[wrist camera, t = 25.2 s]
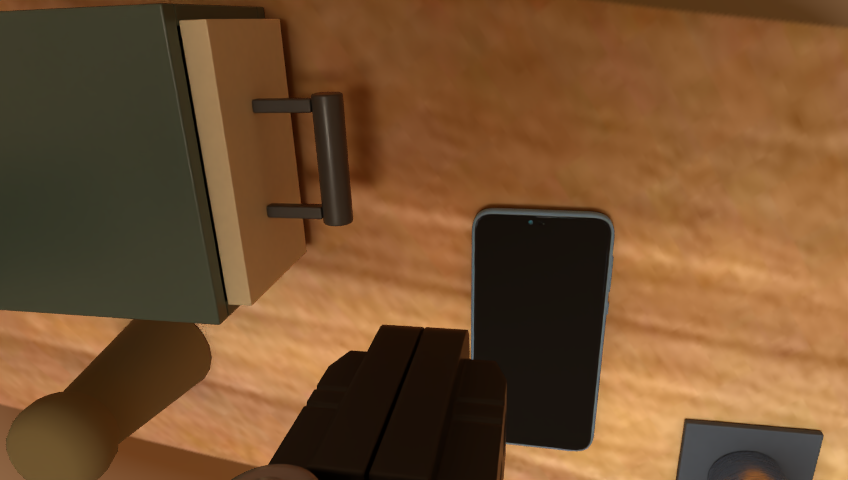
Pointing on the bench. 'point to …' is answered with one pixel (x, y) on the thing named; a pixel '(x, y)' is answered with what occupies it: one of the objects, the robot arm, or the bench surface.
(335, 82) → the bench surface
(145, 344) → the pepper shaker
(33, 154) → the cabinet
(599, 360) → the smartphone
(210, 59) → the drawer
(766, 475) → the spice tin
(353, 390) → the robot arm
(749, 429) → the mat
